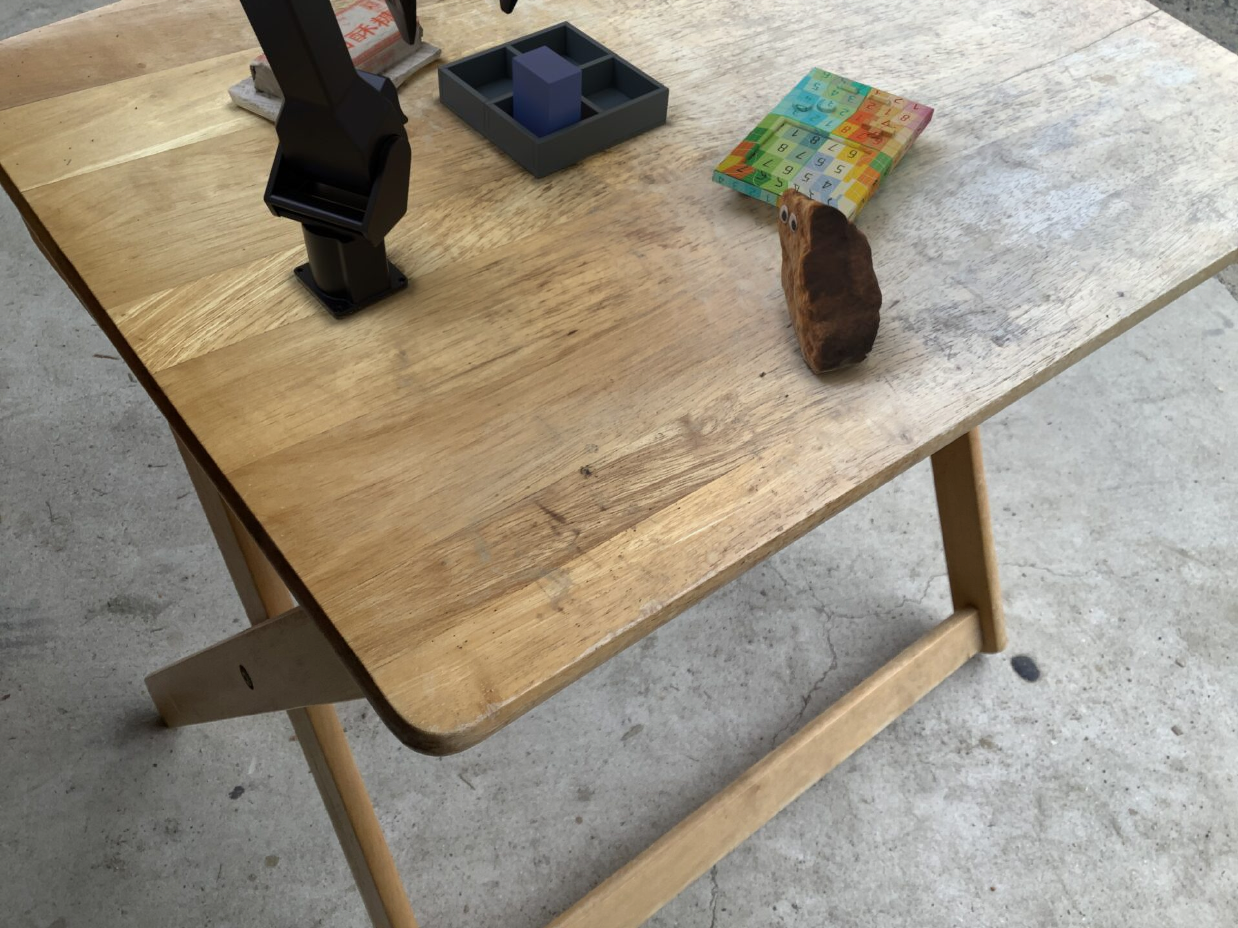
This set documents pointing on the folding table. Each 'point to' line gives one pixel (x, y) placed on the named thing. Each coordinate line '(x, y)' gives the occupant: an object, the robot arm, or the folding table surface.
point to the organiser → (609, 99)
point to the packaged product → (369, 48)
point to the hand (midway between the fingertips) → (458, 27)
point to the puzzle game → (825, 143)
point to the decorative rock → (827, 283)
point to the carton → (545, 91)
